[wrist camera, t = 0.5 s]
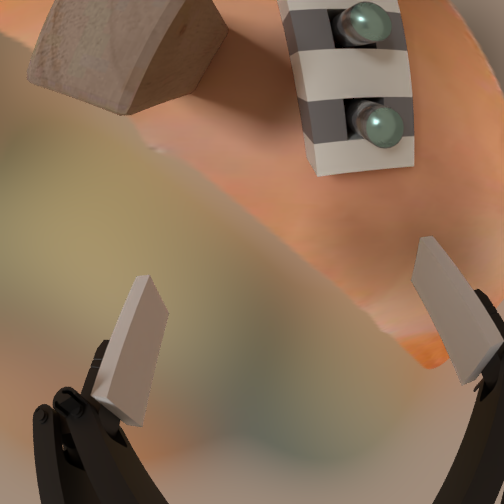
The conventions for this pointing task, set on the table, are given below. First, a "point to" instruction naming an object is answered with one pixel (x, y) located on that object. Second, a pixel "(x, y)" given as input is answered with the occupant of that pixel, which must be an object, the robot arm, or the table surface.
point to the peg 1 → (361, 25)
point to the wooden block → (126, 50)
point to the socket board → (346, 86)
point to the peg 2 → (374, 122)
